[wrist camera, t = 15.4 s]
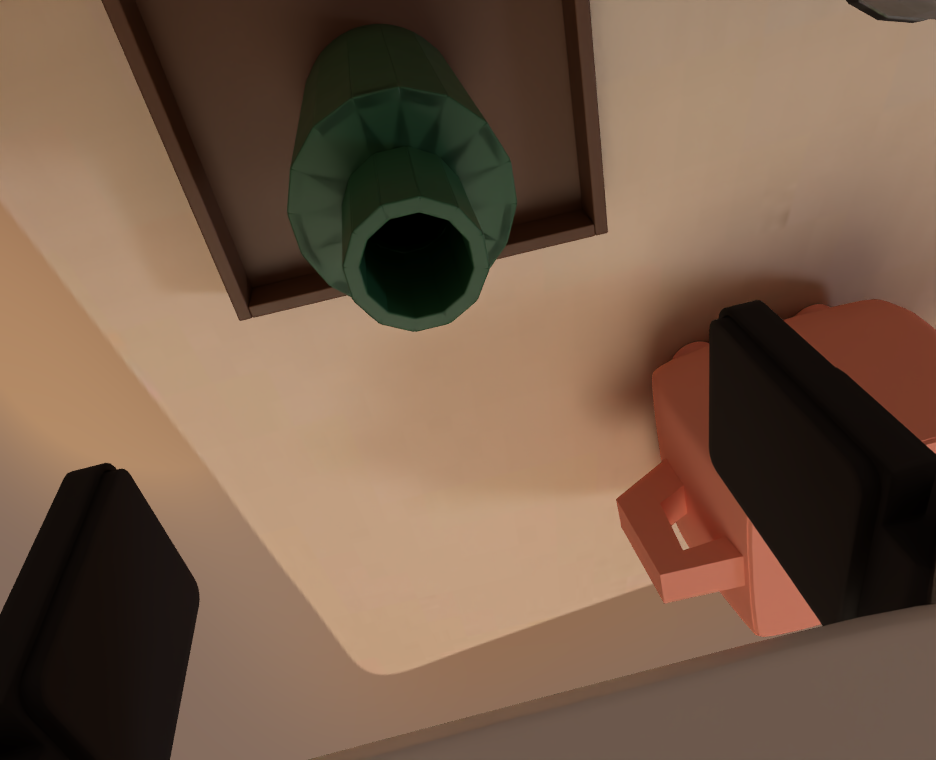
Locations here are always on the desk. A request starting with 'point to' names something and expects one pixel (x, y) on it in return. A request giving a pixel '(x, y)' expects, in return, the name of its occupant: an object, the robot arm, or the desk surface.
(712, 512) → the teapot
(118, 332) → the desk surface
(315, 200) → the bottle
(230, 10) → the tray
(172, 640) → the robot arm
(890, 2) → the beverage cup
